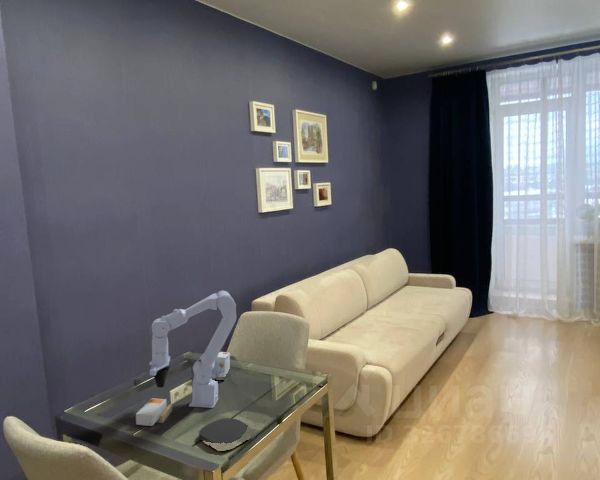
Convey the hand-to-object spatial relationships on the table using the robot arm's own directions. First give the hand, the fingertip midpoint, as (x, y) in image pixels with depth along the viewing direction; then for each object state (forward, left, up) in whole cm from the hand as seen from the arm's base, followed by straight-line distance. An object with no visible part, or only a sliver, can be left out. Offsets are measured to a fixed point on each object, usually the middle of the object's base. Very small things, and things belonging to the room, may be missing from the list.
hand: (160, 386), depth 164 cm
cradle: (0, +6, -8) cm, 10 cm away
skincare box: (0, +1, -6) cm, 6 cm away
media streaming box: (-29, +17, -9) cm, 35 cm away
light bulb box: (-13, -30, -9) cm, 34 cm away
